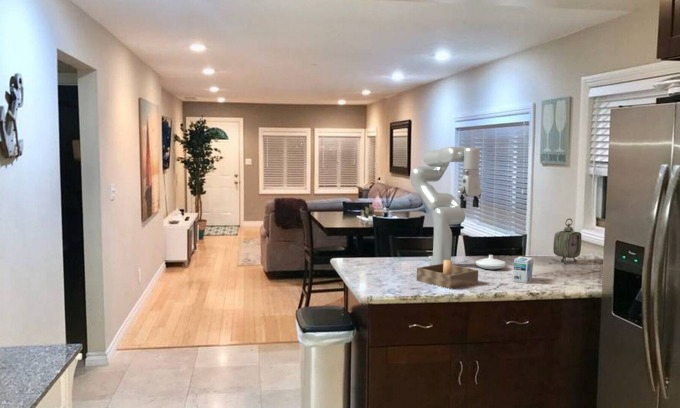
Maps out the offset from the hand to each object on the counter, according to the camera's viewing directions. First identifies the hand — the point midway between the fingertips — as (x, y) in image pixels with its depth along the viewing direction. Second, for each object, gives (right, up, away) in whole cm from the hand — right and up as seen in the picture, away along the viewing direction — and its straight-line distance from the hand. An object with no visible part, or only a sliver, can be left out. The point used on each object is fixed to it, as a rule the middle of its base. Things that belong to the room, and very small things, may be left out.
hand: (469, 207), depth 280 cm
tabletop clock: (+63, -31, +40) cm, 81 cm away
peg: (-14, -35, -14) cm, 40 cm away
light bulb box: (+24, -35, -7) cm, 43 cm away
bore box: (-14, -35, -14) cm, 40 cm away
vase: (+16, -32, +20) cm, 41 cm away
